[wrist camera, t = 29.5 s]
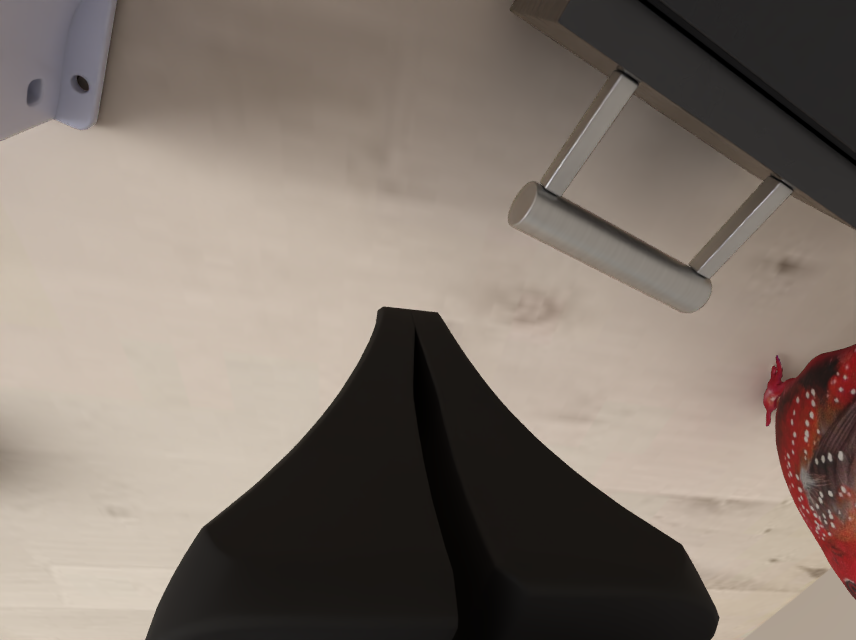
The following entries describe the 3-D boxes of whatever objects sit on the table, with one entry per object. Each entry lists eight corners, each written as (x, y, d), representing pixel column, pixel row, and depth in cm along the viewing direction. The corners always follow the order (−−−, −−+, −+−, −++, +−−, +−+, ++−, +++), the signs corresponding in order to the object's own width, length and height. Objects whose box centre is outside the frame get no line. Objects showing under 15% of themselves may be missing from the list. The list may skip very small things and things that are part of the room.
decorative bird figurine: (730, 470, 30) (858, 653, 22) (762, 209, 20) (1018, 366, 12) (779, 459, 30) (927, 640, 22) (836, 188, 20) (1149, 335, 12)
